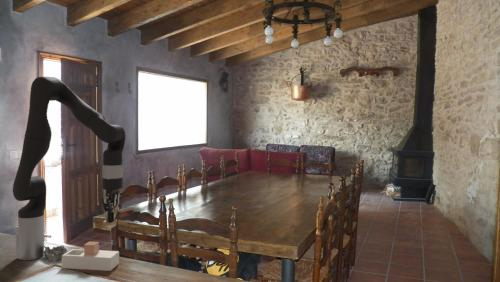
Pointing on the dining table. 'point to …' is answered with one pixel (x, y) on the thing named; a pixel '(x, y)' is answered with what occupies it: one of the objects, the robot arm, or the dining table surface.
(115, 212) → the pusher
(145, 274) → the dining table surface
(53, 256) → the grey green rough clump
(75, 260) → the sweep board
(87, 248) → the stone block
